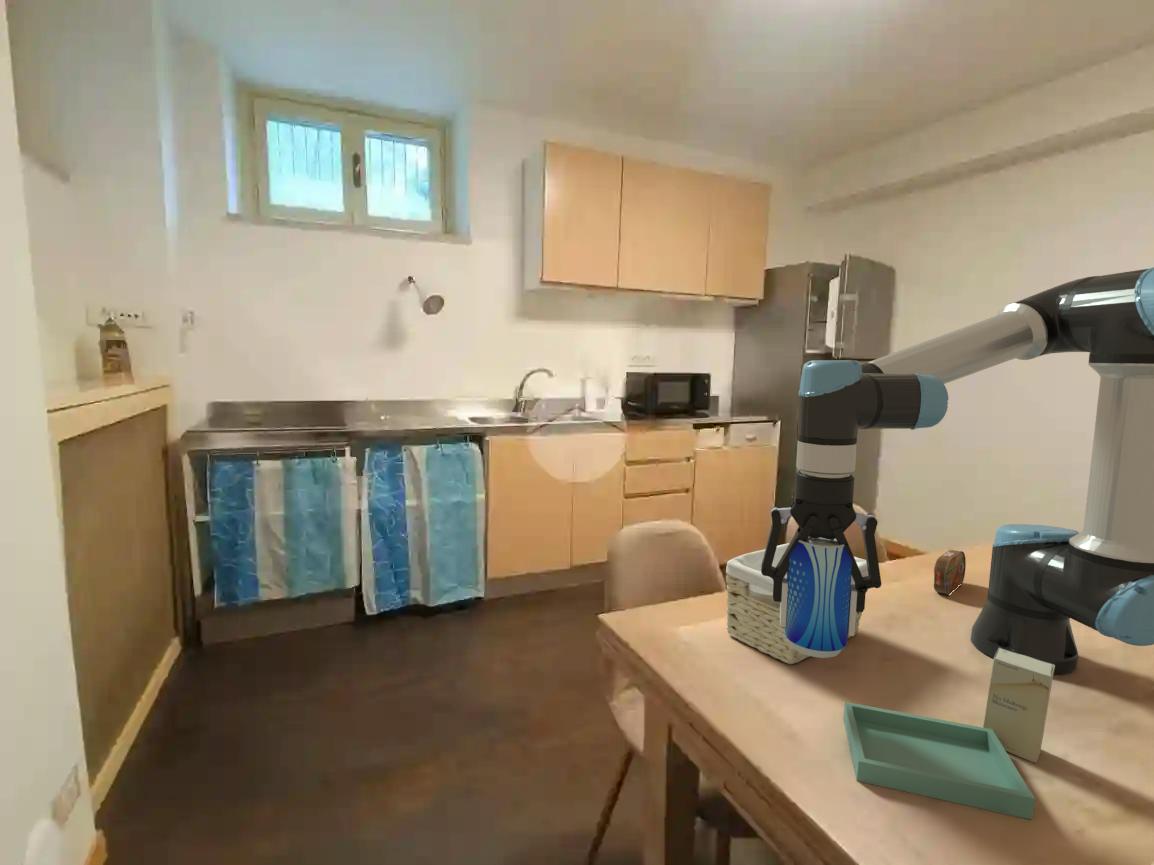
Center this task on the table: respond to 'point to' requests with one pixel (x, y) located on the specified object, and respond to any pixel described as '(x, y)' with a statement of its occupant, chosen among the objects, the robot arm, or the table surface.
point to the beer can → (818, 597)
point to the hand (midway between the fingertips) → (815, 626)
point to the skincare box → (1019, 702)
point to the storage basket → (762, 605)
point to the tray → (935, 759)
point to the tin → (949, 571)
